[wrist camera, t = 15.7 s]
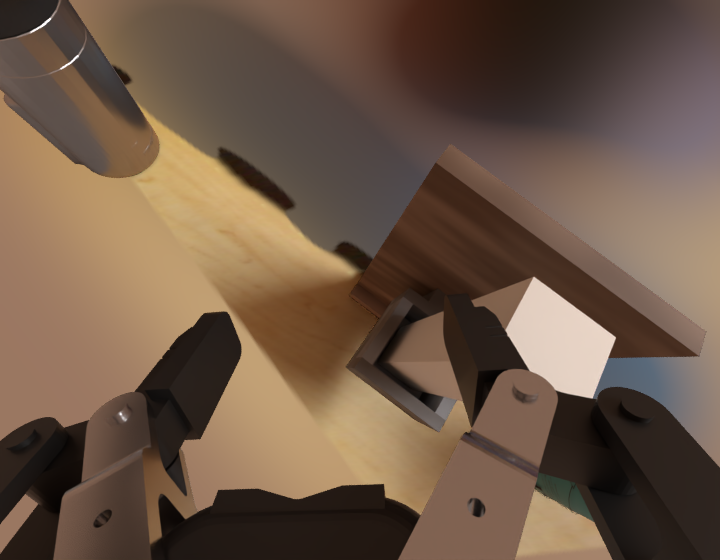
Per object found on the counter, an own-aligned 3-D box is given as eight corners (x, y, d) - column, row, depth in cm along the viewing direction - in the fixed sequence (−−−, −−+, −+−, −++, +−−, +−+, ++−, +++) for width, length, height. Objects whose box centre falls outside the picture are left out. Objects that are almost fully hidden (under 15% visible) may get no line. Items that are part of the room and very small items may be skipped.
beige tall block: (412, 389, 28) (580, 429, 11) (376, 362, 28) (489, 360, 11) (433, 352, 29) (615, 337, 12) (400, 327, 29) (533, 276, 12)
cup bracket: (415, 426, 37) (642, 558, 12) (310, 346, 37) (318, 312, 12) (463, 344, 40) (710, 315, 16) (366, 272, 41) (459, 132, 16)
